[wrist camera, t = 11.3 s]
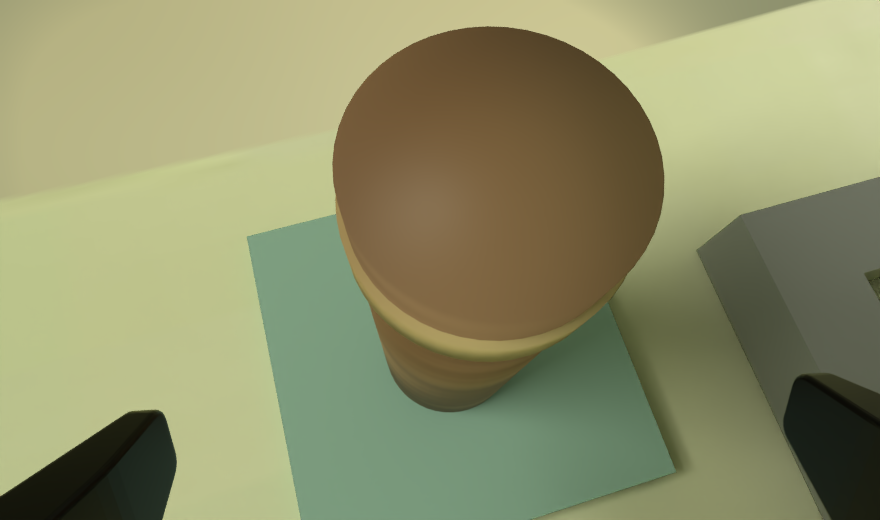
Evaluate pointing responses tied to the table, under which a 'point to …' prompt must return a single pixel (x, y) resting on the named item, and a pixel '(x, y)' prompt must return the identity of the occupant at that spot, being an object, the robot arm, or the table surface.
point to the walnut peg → (490, 203)
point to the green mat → (432, 432)
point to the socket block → (803, 290)
